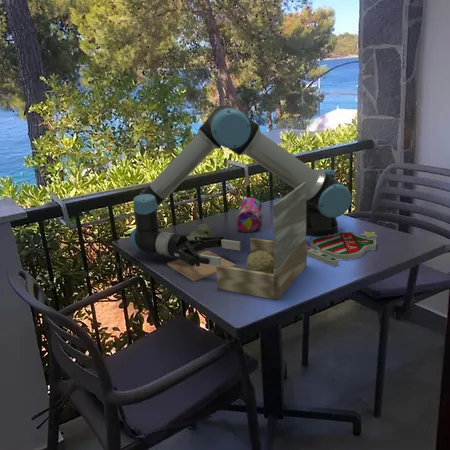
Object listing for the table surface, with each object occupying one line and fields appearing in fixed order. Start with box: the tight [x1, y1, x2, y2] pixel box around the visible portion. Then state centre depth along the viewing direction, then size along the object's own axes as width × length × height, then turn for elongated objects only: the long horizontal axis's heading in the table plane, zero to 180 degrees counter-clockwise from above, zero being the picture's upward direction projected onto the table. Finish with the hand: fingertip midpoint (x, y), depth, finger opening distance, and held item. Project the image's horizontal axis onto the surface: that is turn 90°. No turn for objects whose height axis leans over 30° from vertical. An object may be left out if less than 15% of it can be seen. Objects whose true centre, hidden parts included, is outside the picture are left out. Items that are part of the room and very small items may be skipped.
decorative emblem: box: [307, 231, 378, 267], centre depth 162 cm, size 19×2×30 cm
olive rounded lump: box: [245, 251, 274, 274], centre depth 142 cm, size 9×10×10 cm
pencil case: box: [236, 196, 262, 233], centre depth 188 cm, size 22×9×9 cm, turn 176°
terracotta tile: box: [166, 250, 237, 282], centre depth 152 cm, size 16×16×1 cm
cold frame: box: [216, 182, 308, 301], centre depth 138 cm, size 19×24×27 cm
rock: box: [186, 223, 214, 240], centre depth 173 cm, size 11×6×10 cm
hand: (230, 253), depth 146 cm, fingers open, 13 cm apart
